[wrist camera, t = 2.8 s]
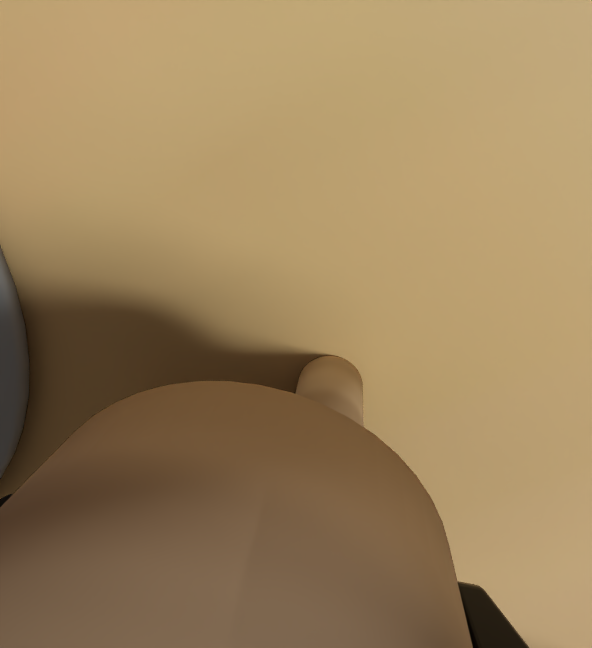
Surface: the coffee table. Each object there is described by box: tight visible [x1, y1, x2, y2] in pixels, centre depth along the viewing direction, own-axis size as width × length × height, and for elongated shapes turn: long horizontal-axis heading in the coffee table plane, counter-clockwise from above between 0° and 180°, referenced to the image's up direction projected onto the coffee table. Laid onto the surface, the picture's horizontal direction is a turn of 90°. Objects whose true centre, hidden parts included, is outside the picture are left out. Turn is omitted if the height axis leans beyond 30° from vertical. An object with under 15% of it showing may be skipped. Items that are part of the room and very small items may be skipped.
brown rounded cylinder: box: [0, 356, 473, 648], centre depth 7 cm, size 6×6×6 cm
